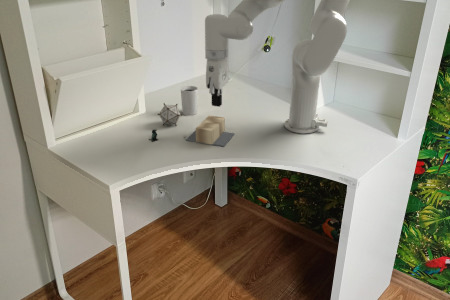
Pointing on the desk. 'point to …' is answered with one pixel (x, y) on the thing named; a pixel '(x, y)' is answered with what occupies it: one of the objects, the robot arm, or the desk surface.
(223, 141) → the slate mat
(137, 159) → the desk surface
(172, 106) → the game die
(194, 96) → the white and black cylinder
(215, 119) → the maple block
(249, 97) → the desk surface
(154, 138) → the sculpture
